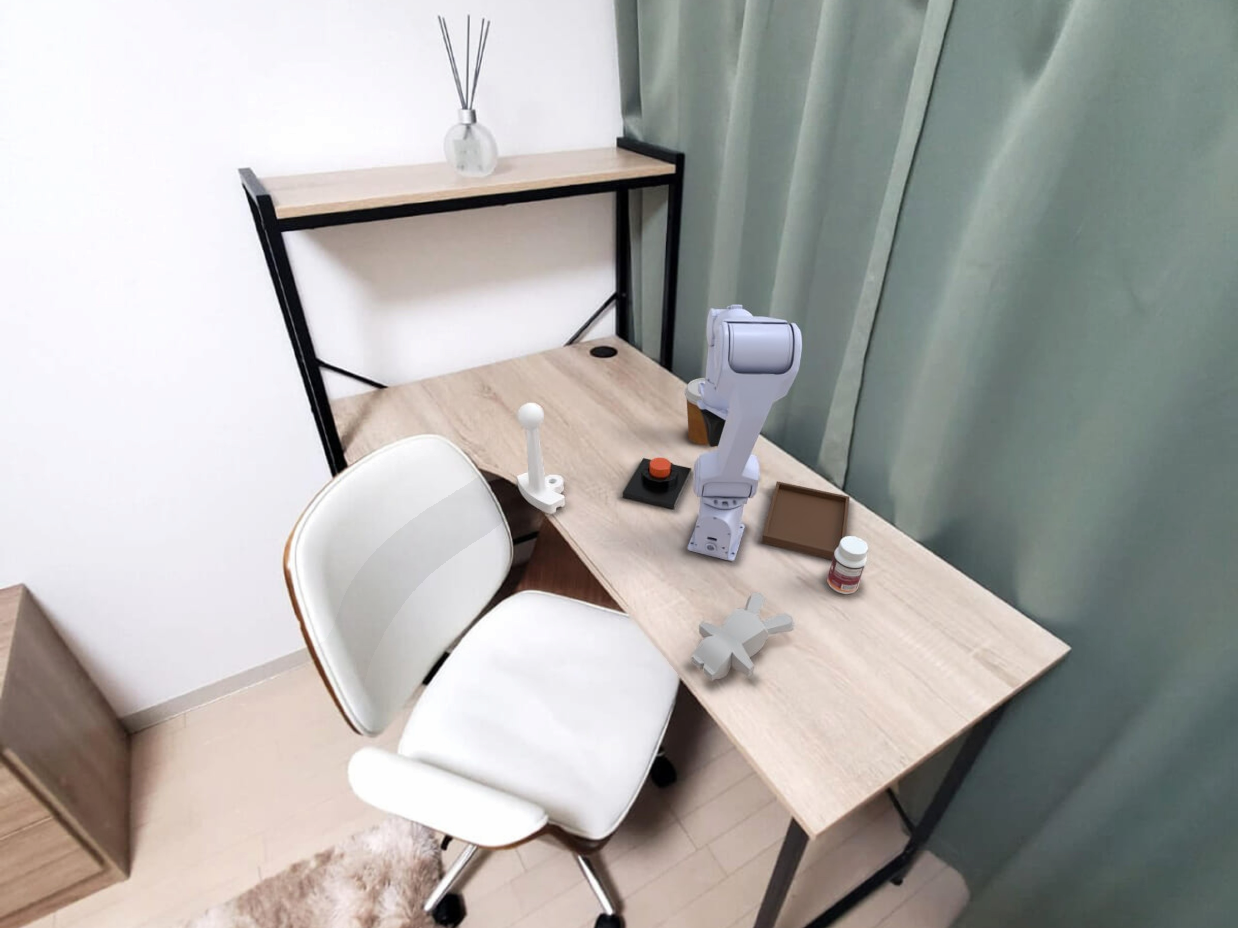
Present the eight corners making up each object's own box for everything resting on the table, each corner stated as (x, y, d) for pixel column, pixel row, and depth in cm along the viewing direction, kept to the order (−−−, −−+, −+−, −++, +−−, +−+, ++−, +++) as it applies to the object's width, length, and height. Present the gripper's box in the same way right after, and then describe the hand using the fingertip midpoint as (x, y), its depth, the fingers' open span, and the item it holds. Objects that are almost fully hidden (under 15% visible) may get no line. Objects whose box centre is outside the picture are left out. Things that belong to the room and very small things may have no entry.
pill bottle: (833, 568, 98) (845, 529, 93) (862, 582, 96) (875, 543, 91) (821, 585, 95) (832, 546, 90) (850, 599, 93) (863, 560, 88)
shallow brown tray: (841, 562, 99) (843, 554, 98) (761, 542, 103) (762, 535, 102) (847, 504, 112) (849, 496, 110) (775, 488, 115) (777, 481, 114)
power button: (666, 479, 113) (667, 471, 112) (646, 475, 114) (646, 467, 113) (672, 468, 116) (673, 459, 115) (653, 463, 117) (653, 455, 116)
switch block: (673, 510, 110) (674, 497, 108) (622, 498, 113) (622, 485, 111) (690, 473, 119) (692, 461, 117) (643, 463, 122) (643, 451, 120)
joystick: (512, 488, 115) (501, 396, 104) (545, 473, 119) (537, 382, 107) (545, 517, 108) (537, 422, 97) (579, 500, 112) (575, 407, 101)
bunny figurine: (676, 635, 82) (751, 576, 89) (677, 656, 85) (749, 598, 92) (728, 683, 76) (804, 616, 83) (727, 703, 79) (800, 637, 86)
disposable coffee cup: (674, 441, 128) (677, 392, 121) (691, 421, 135) (695, 373, 128) (716, 453, 125) (722, 403, 118) (731, 432, 132) (738, 383, 125)
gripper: (684, 362, 108) (679, 427, 115) (718, 401, 96) (710, 470, 104) (720, 358, 109) (713, 422, 117) (758, 395, 98) (747, 463, 106)
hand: (714, 444), depth 111 cm, fingers closed
